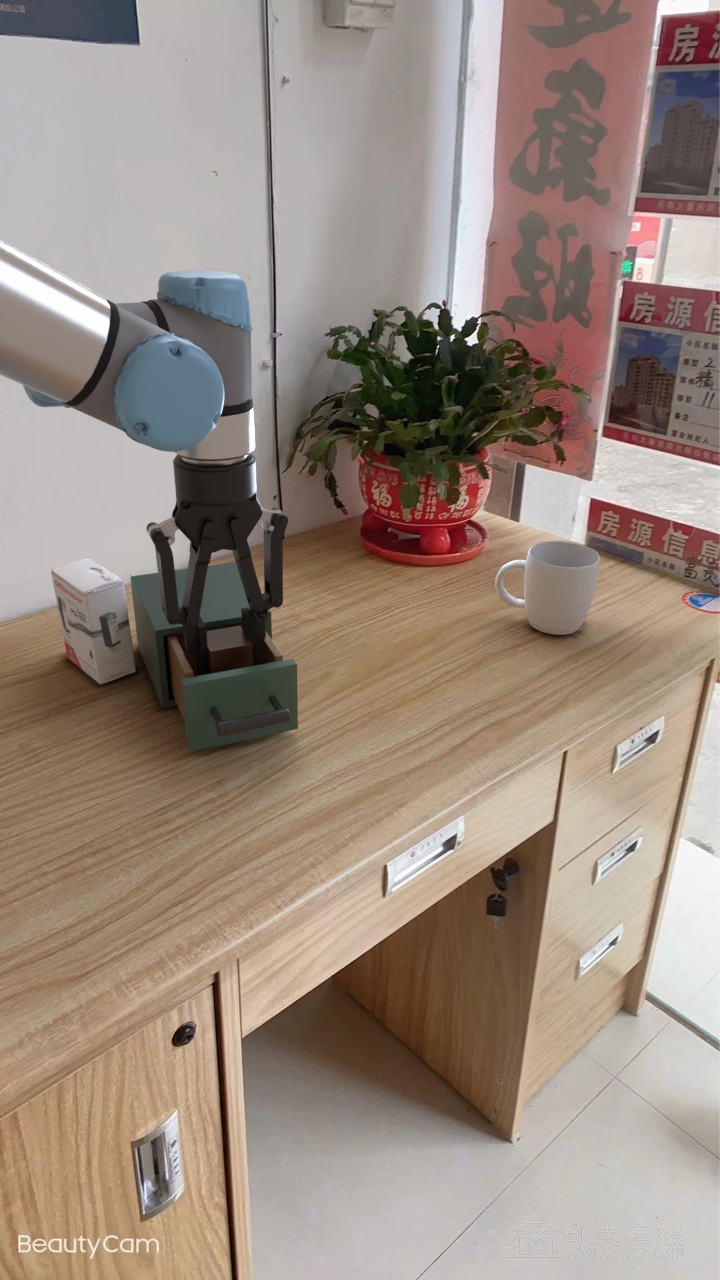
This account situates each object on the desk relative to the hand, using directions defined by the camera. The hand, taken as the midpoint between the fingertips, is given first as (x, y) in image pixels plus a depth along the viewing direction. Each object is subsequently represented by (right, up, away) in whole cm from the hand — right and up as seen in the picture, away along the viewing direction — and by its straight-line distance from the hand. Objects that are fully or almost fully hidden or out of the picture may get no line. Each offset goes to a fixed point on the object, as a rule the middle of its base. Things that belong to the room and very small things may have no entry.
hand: (227, 672), depth 92 cm
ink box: (-17, 0, +12) cm, 21 cm away
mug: (+38, +6, +24) cm, 45 cm away
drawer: (0, -5, +1) cm, 5 cm away
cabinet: (-5, 0, +12) cm, 13 cm away
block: (0, 0, 0) cm, 0 cm away
